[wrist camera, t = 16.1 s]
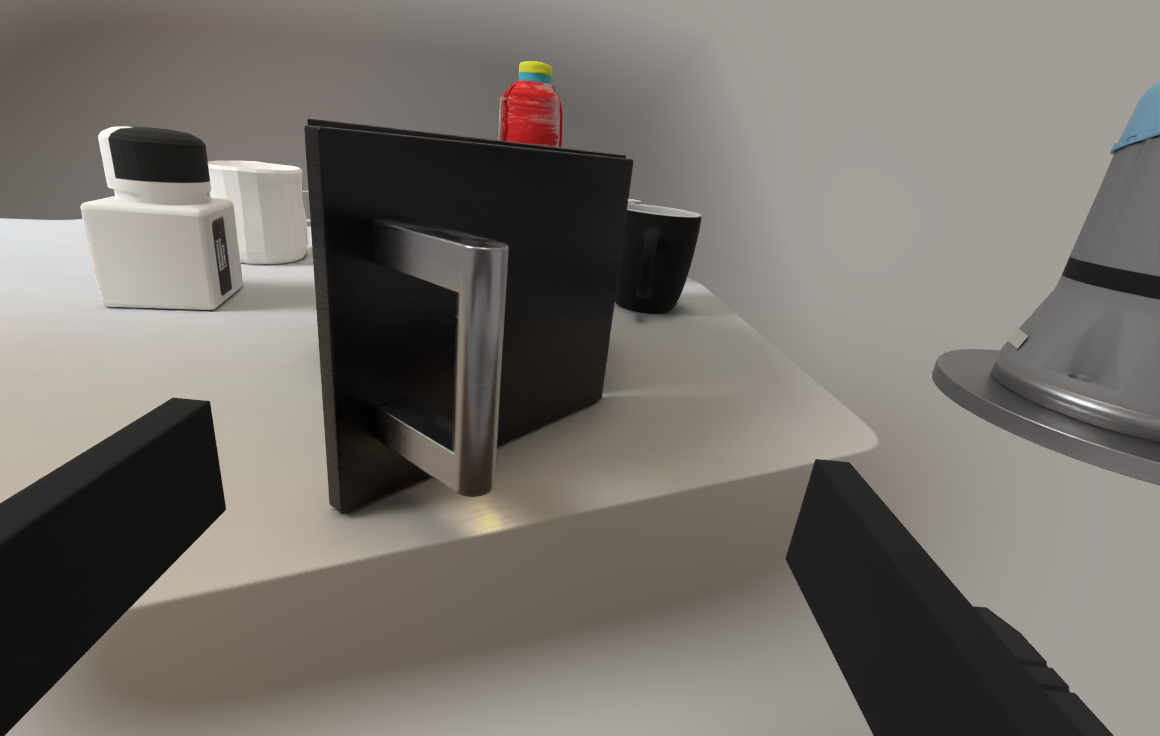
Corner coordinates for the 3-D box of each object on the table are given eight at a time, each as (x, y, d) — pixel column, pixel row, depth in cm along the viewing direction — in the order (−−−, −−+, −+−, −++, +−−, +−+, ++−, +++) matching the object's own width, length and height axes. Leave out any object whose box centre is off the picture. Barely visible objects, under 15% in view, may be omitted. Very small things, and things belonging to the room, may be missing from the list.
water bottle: (481, 256, 76) (490, 48, 67) (466, 244, 83) (473, 54, 74) (562, 257, 81) (580, 65, 72) (541, 247, 88) (556, 69, 79)
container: (244, 287, 51) (226, 134, 46) (215, 311, 44) (191, 135, 40) (146, 282, 49) (117, 122, 44) (99, 307, 42) (59, 121, 37)
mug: (608, 290, 66) (619, 201, 62) (684, 301, 64) (700, 211, 61) (592, 316, 54) (605, 210, 51) (684, 330, 53) (704, 223, 50)
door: (679, 431, 33) (730, 171, 28) (430, 590, 20) (436, 142, 14) (589, 393, 37) (619, 157, 32) (328, 504, 23) (302, 124, 18)
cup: (291, 245, 70) (284, 162, 66) (326, 262, 63) (321, 172, 60) (202, 249, 63) (190, 157, 59) (232, 268, 57) (220, 167, 53)
